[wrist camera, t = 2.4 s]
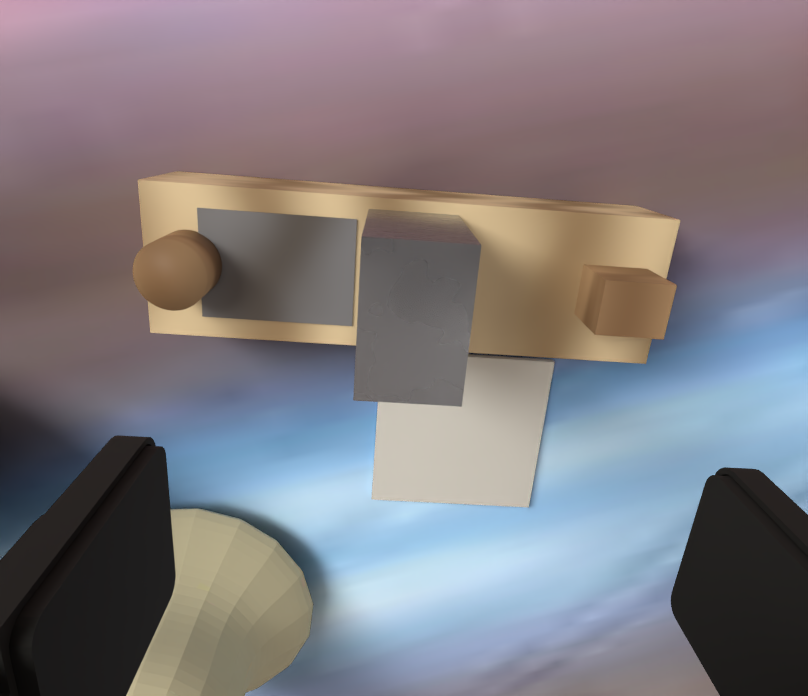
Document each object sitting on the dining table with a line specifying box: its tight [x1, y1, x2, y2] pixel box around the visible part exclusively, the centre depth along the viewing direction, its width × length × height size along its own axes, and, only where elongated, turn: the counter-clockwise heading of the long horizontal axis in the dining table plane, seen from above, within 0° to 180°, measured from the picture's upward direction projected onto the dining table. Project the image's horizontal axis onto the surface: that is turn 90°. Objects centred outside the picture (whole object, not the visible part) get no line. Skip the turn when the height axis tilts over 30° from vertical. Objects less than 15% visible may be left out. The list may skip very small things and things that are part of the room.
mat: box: [372, 354, 555, 507], centre depth 35 cm, size 10×10×1 cm
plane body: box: [133, 171, 680, 364], centre depth 28 cm, size 24×7×8 cm, turn 86°
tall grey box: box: [353, 209, 481, 407], centre depth 24 cm, size 4×6×7 cm, turn 176°
